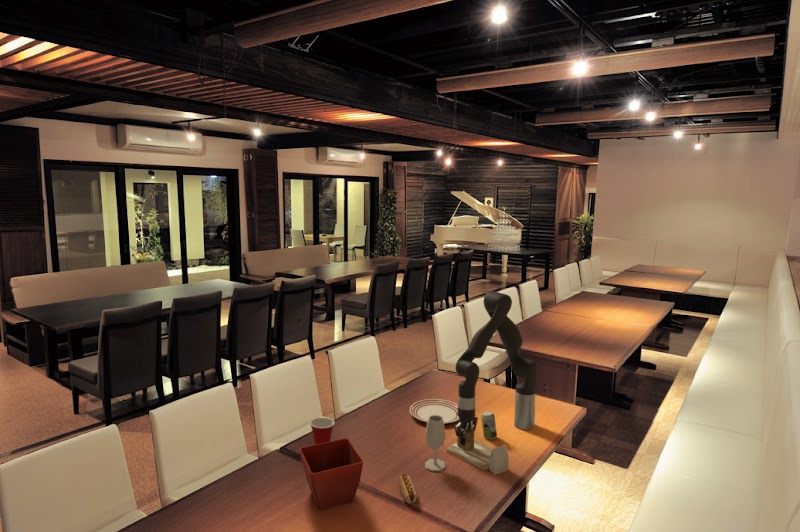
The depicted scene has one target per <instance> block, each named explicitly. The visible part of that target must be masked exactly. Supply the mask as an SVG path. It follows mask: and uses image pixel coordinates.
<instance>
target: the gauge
mask: <svg viewBox="0 0 800 532" xmlns="http://www.w3.org/2000/svg"><path fill="white" fill-rule="evenodd" d="M463 430H465V429H463ZM462 434H463V432H462ZM474 440H475V431H474V430H473V429H469V428H467V432H466V433H465V445H464V446H463V445H461V444H460V437H458V436H457V439H456V443H457V446H459V447H461V448H463V449H465V450H467V451H469V450H471V449H472V448H474Z"/></svg>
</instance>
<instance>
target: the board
mask: <svg viewBox="0 0 800 532" xmlns="http://www.w3.org/2000/svg"><path fill="white" fill-rule="evenodd" d="M492 449H494V448H493V447H490V446H489V445H486V444H483V443H481V442H479V441H477V440H475V439H474V448H472V449H471V450H469V451H467V450H465V449H463V448H461V447H459V446H457V442H455V443H453V444H451V445H449V446H447V447H446V453H447V452H448V453H447V454H449V453H450V454H449V455H451V454H452V456H453V455H454V457H455V456H456V458H458V459H459V460H461V461H464V462H466V463H468V464H470V465H472V466H474V467H476V468H478V469H481V470H483V471H487V470H489V458H490V454H491V452H492Z"/></svg>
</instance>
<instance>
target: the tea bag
mask: <svg viewBox="0 0 800 532" xmlns="http://www.w3.org/2000/svg"><path fill="white" fill-rule="evenodd" d="M509 459H510V458H509V453H508V448H507V444H505V445H500V446H498V447H494V448H493V449H492V452H491V454H490V458H489V468H488V470H489V471H490V472H491V473H492V474H493V473H494V474H493V475H498V474H501V472H502V473H505V472H507V471H509V461H510V460H509Z"/></svg>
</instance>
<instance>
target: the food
mask: <svg viewBox="0 0 800 532" xmlns="http://www.w3.org/2000/svg"><path fill="white" fill-rule="evenodd" d="M398 486H399V490H400V493H401V495H402V497H403V499H404V501H405V502H406V503H408V504H410V505H411V504H414V503H416V502H417V500H418V492H417V489H416V487H415V485H414V482H413V481H412V479H411V477H410V475H407V474H405V473H403V474H402V475H401V476H399V479H398Z"/></svg>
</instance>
